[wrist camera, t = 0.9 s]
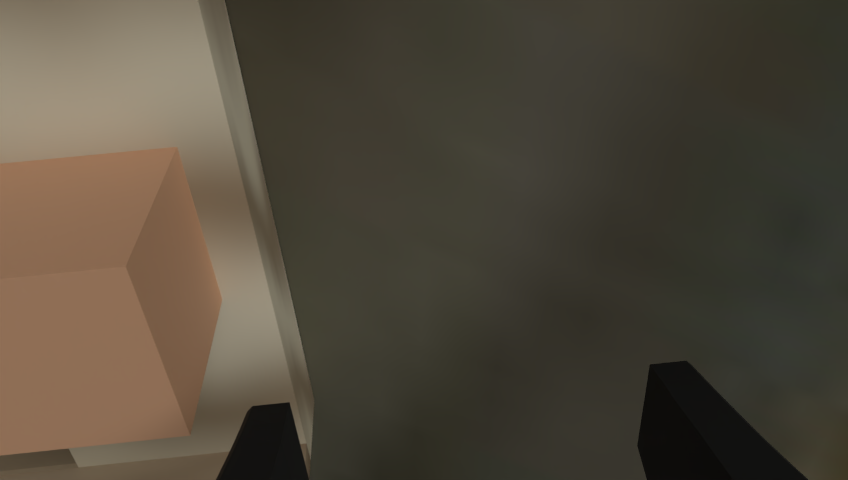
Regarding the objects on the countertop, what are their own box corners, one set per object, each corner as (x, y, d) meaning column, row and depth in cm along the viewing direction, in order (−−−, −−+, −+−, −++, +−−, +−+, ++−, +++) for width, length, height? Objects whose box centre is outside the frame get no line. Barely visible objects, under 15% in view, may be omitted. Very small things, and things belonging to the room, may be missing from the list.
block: (222, 299, 19) (190, 435, 15) (49, 316, 19) (-25, 458, 15) (177, 147, 16) (126, 266, 13) (-24, 166, 16) (-134, 292, 13)
